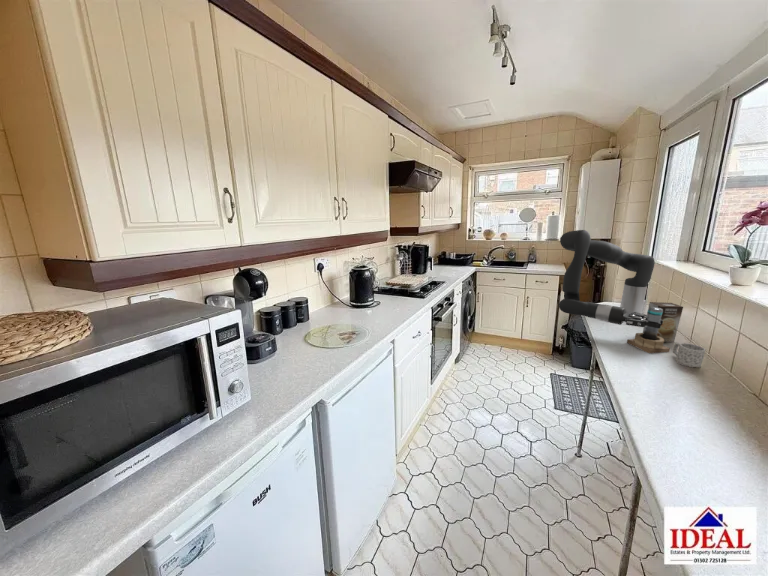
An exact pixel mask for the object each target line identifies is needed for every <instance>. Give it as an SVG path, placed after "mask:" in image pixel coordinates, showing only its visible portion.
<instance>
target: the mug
mask: <svg viewBox="0 0 768 576" xmlns="http://www.w3.org/2000/svg"><path fill="white" fill-rule="evenodd" d="M672 353H673V354H674V355H675V356H676V359H675V361H676V362H677V363H678V364H680V365H682V366H684V365H685V367H688V366H689V368H693V367H699V368H701V366H702V363H703V359H704V356H705V353H706V348H704V346H703V347H702V346H700V345H697V344H693V343H690V342H689V343H688V342H687V343H686V342H682V343H680V342H676V343H675V342H674V345H673V348H672Z"/></svg>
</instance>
